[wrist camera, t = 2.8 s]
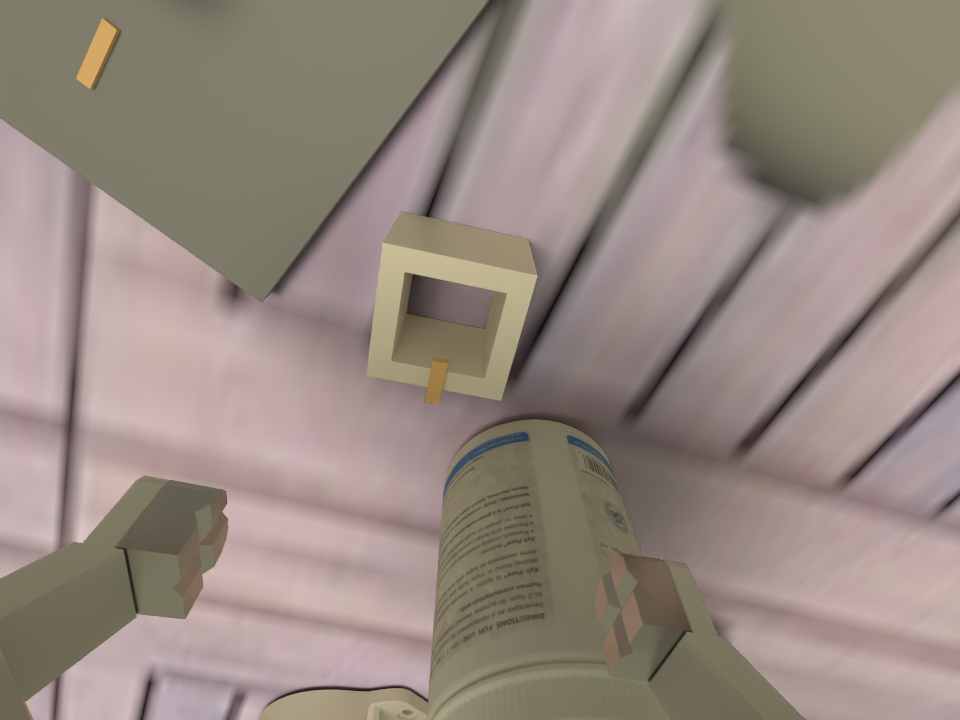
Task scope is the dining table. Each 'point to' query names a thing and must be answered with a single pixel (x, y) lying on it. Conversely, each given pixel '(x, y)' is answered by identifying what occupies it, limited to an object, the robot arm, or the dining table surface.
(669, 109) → the dining table surface
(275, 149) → the grey square panel
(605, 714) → the supplement tub
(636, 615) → the robot arm
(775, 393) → the dining table surface
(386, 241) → the cream open box
